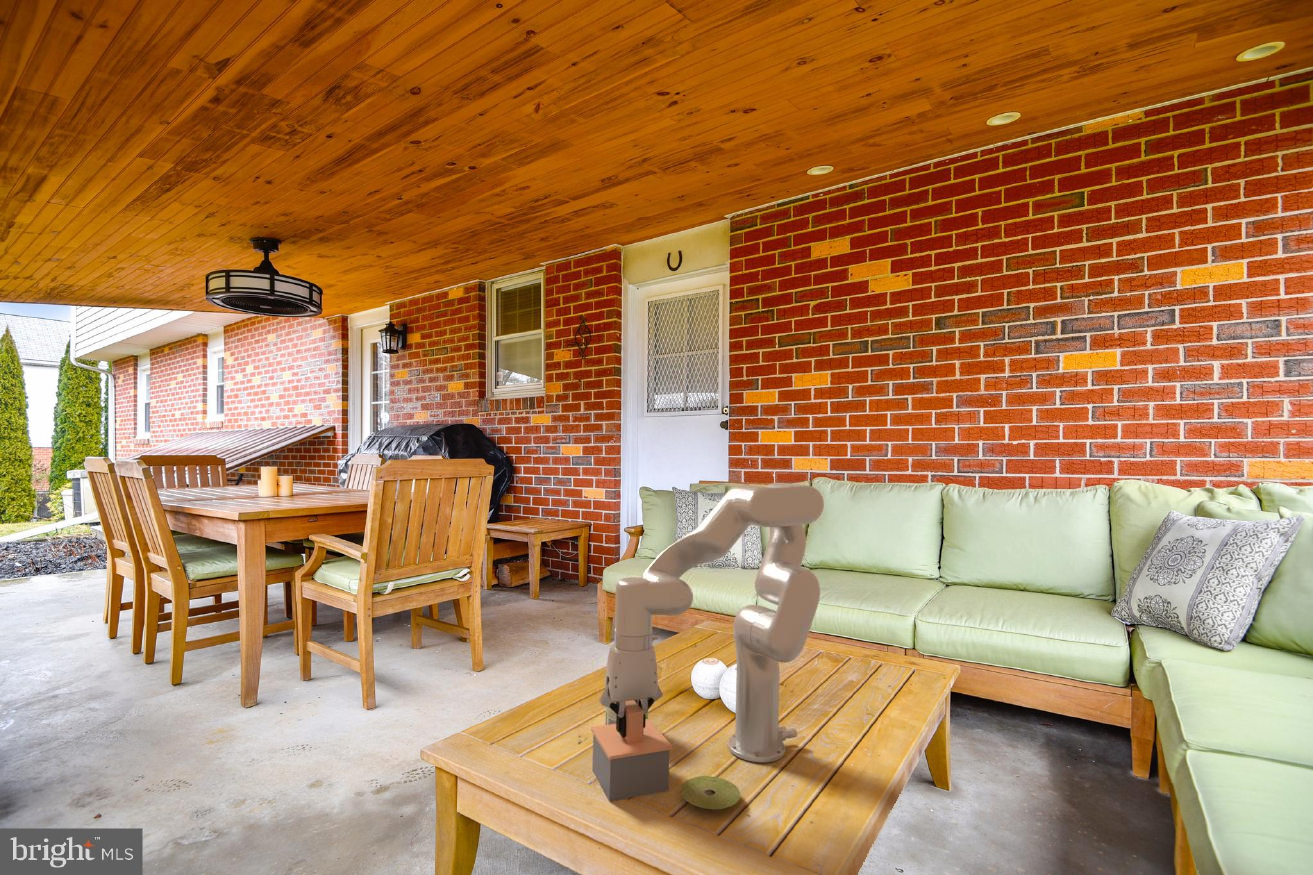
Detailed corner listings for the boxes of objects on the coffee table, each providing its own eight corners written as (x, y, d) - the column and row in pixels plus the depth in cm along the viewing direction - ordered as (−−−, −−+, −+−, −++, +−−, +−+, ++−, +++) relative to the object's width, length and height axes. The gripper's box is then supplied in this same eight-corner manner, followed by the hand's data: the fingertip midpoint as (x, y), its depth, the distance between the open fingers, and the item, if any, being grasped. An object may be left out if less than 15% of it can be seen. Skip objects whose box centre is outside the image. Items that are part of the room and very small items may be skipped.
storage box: (646, 760, 129) (647, 722, 129) (668, 790, 118) (669, 748, 118) (592, 770, 124) (593, 730, 125) (609, 801, 113) (610, 758, 113)
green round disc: (696, 779, 122) (696, 769, 122) (749, 796, 116) (749, 786, 116) (669, 806, 112) (669, 795, 112) (725, 826, 106) (725, 815, 107)
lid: (648, 725, 129) (649, 690, 130) (672, 753, 118) (673, 714, 118) (590, 734, 125) (592, 697, 125) (608, 764, 113) (610, 723, 113)
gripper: (663, 632, 128) (661, 719, 128) (588, 638, 122) (586, 730, 122) (677, 642, 121) (675, 735, 121) (598, 650, 115) (596, 748, 115)
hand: (630, 732), depth 121 cm, fingers closed on lid, 3 cm apart
